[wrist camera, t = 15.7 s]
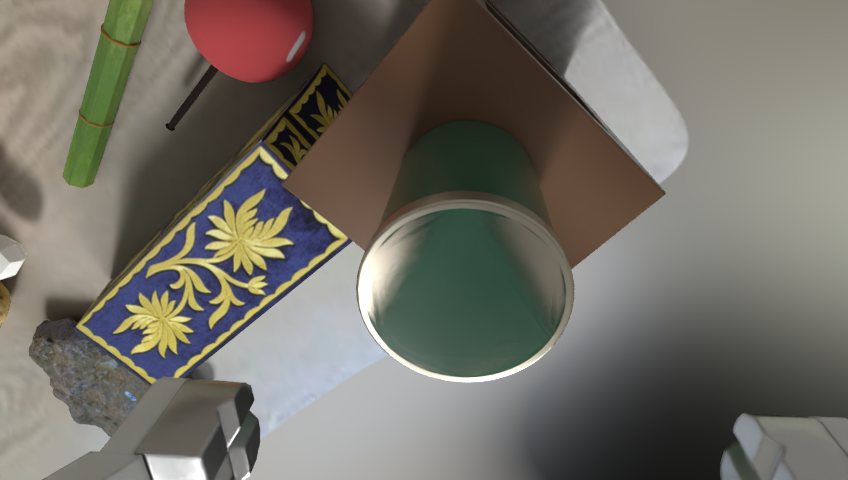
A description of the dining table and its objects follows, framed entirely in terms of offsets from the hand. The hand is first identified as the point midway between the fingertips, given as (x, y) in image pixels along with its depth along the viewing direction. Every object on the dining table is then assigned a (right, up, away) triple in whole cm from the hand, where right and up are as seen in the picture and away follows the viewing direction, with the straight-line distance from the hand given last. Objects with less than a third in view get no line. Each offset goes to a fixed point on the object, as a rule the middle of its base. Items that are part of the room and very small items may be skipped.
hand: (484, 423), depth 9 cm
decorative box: (-16, +4, +36) cm, 40 cm away
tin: (0, +5, +9) cm, 11 cm away
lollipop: (-20, +11, +30) cm, 38 cm away
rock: (-28, -7, +41) cm, 50 cm away
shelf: (+2, +15, +29) cm, 33 cm away
